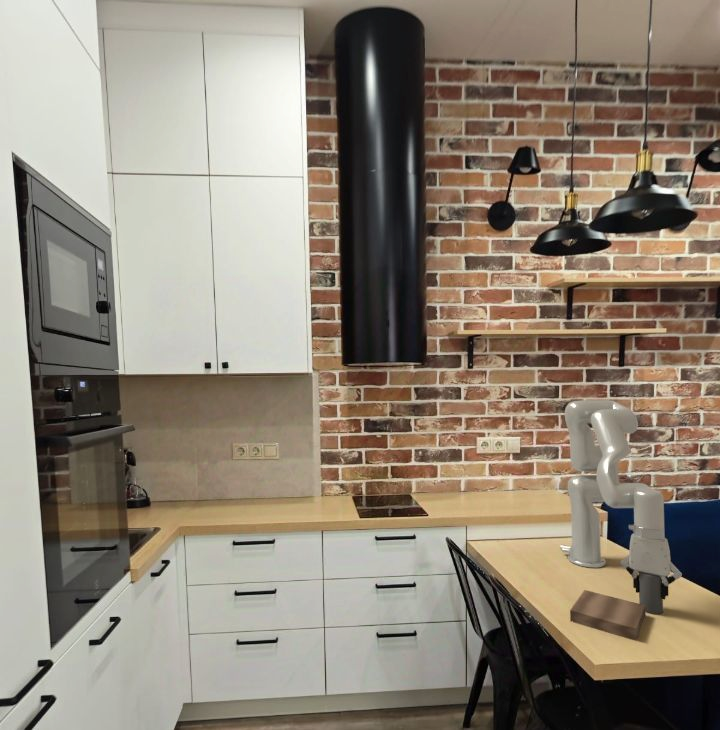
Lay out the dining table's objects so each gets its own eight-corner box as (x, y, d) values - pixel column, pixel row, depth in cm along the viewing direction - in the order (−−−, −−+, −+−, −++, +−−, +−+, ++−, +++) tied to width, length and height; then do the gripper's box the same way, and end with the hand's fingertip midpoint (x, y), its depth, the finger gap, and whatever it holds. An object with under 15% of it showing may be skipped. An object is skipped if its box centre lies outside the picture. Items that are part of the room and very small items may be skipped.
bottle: (635, 603, 138) (634, 553, 139) (655, 604, 138) (654, 553, 139) (646, 613, 133) (645, 561, 133) (667, 614, 132) (666, 561, 133)
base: (570, 621, 129) (570, 610, 129) (584, 599, 142) (584, 589, 142) (636, 640, 119) (636, 628, 119) (645, 616, 132) (645, 605, 132)
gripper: (613, 529, 138) (615, 590, 138) (683, 542, 128) (685, 608, 127) (618, 523, 144) (619, 581, 144) (686, 534, 133) (687, 598, 133)
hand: (650, 593), depth 135 cm, fingers closed on bottle, 5 cm apart
